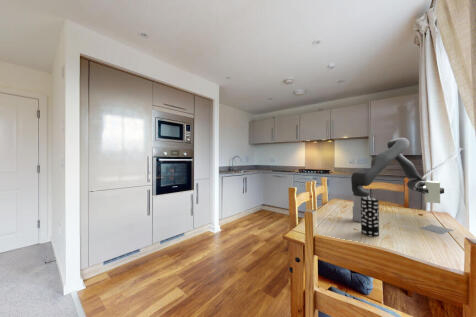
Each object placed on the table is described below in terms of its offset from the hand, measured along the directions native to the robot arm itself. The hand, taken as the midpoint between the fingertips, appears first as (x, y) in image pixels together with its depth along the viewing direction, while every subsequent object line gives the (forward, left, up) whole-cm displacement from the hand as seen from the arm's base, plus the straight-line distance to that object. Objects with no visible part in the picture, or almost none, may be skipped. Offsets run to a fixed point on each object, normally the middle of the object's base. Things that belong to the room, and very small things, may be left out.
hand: (434, 191), depth 111 cm
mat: (+3, +1, -23) cm, 23 cm away
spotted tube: (-37, +13, -23) cm, 45 cm away
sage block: (+2, +2, -6) cm, 7 cm away
